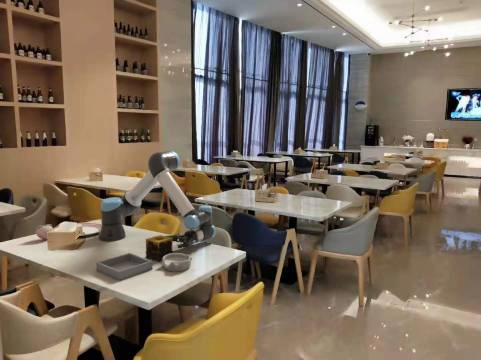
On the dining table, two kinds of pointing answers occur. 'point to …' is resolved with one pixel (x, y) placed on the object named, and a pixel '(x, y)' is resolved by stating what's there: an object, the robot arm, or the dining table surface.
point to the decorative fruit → (43, 231)
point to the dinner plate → (91, 228)
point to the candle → (158, 247)
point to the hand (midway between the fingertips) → (163, 245)
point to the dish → (176, 262)
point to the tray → (124, 266)
